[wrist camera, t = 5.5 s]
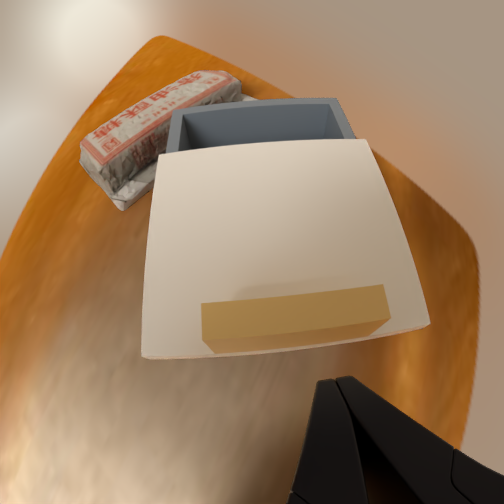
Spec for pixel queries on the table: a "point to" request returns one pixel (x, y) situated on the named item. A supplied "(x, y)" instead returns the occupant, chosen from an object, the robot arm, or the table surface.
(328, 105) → the storage box
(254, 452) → the table surface
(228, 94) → the packaged product
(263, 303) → the lid
